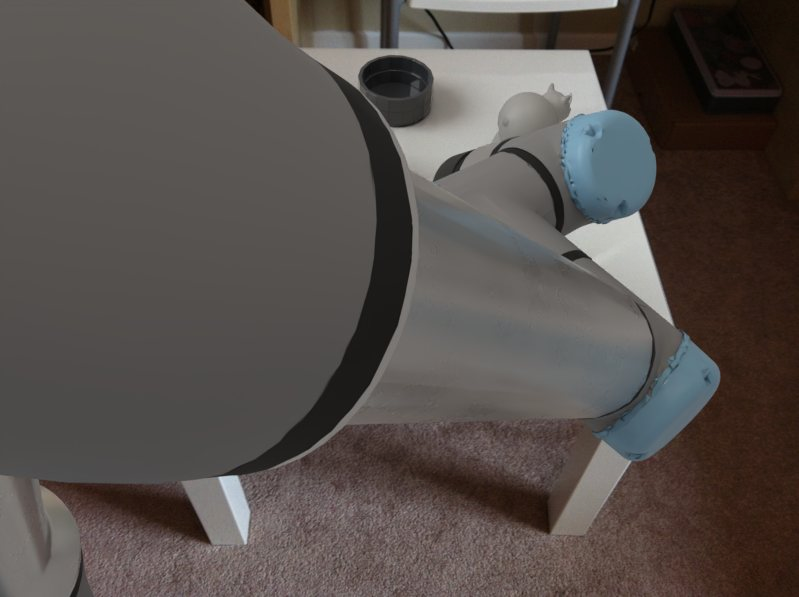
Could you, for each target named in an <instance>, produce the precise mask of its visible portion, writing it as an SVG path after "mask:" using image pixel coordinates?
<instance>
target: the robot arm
mask: <svg viewBox="0 0 799 597" xmlns="http://www.w3.org/2000/svg"><path fill="white" fill-rule="evenodd" d="M656 178H657V159H656V154H655V152H654V151H653V147H652V145H651V138H650V136H649V135H648V133H647V131H646V130H645V128H644V127H643V126H642V125H641V123H640V122H639V121H638V120H636V118H634V117H633V116H632V115H630V114H628V113H626V112H624V111H620V110H616V109H605V110H600V111H596V112H591V113H588V114H587V113H586V114H585V113H578V114H576V115H575V116H573V117H572V118H570V119H567V120H563V121H562V122H560V123H558V124H555V125H552V126H549V127H545V128H542V129H539V130H536V131H534V132H531V133H528V134H525V135H522V136H515V137H509V138H506V139H503V140H500V141H497V142H494V143H492V142H490V143H487V144H485V145H481V146H478V147H477V148H473V149H470V150H467V151H464V152H461V153H458V154H454V155H452V156H450V157H448V158H447V159H446V160H445V161H443V162H442V163H441V165H440V166H439V167H438V169H437V170H436V172H435V173H434V176H433V179H432V181H431V180H430V179H427V178H425V177H424V176H422V175H420V174H418V173H416V172H415V171H413V170H411V169H410V168H409V165H408V162H407V157H406V155H405V152H404V150H403V148H402V146H401V144H400V142H399V141H398V138H397V136H396V133H395V132H394V130H393V128H392V126H389V124H388V123H387V121H386V120H385V118H384V117H383V115H382V114H381V112H380V111H379V110H378V109H377V108H376V107H375V105H374V104H373V103H372V102H371V101H370V100H369V99H368V98H367V97H366V96H365V95H364V94H363V93H362V92H361V91H360V90H358V87H356V86H354V85H353V84H352V83H351V82H349V81H348V80H346V79H345V78H344V77H342V76H340V75H339V74H337V73H336V72H335V71H333V70H331V69H330V68H328V67H327V66H325V65H324V64H323V63H321V62H319V61H318V60H317V59H315V58H314V57H312V56H310V55H309V54H308V53H307V52H305V51H304V50H302V49H301V48H300V47H298V45H296V44H294V43H293V42H292V41H290V40H289V38H287V37H286V36H284V35H283V34H281V32H279V31H278V30H277V29H276V28H275V27H274V26H272V25H271V23H270V22H268V21H267V20H266V19H265V18H264V17H263V16H262V15H261V14H260V13H258V12H257V11H256V10H255V9H254V8H253V6H251V4H250V3H248V2H247V1H246V0H0V597H95V595H94V593H93V591H92V588H91V585H90V583H89V579H88V577H87V572H86V568H85V559H84V554H83V548H82V542H81V534H80V531H79V528H78V524H77V522H76V519H75V518H74V516H73V514H72V512H71V511H70V510H69V507H67V505H66V504H65V503H64V501H63V500H62V499H60V497H59V496H57V495H56V494H55V492H52V490H50V489H48V488H46V487H45V486H44V485H41V484H40V481H50V482H58V483H74V484H129V485H131V484H133V485H155V484H167V483H168V484H169V483H178V482H187V481H188V482H190V481H195V480H202V479H211V478H212V479H213V478H221V477H222V478H223V477H233V476H237V477H238V476H245V475H251V474H257V473H261V472H267V471H270V470H274V469H278V468H280V467H283V466H285V465H288V464H290V463H293V462H295V461H297V460H300V459H303V458H304V457H305V456H307V455H309V454H310V453H312V452H313V451H315V450H317V449H319V448H320V447H321V446H323V445H324V444H326V443H327V442H328V441H329V440H330V439H332V438H333V436H335V435H336V434H337V433H338V432H340V431H341V430H342V429H343V428H344V427H345V426H350V425H351V426H353V425H354V426H358V425H388V424H389V425H394V424H425V423H426V424H430V423H431V424H432V423H464V422H465V423H466V422H467V423H468V422H499V421H501V422H502V421H505V422H507V421H537V420H542V421H543V420H572V419H573V420H574V419H575V420H582V421H583V422H584V423H585V424H586V425H587V427H589V428H590V429H591V430H592V431H591V434H592V435H593V436H594V437H595V438H596V439H599V440H602V442H604V443H605V444H607V445H608V446H609V447H610V448H611V449H613V450H614V451H615V452H616V453H617V454H618V455H620V456H621V457H622V458H623V459H625V460H628V461H630V462H641V461H645V460H647V459H649V458H650V457H652V456H654V455H655V454H656V453H658V452H659V451H660V450H661V449H663V448H664V447H665V446H667V444H668V443H670V442H671V441H672V440H673V439H674V438H675V437H676V436H677V435H678V434H680V433H681V431H683V430H684V429H685V428H686V427H687V425H689V424H690V422H692V421H693V420H694V418H696V416H698V414H699V413H700V412H701V411H702V410H703V408H704V407H705V406H706V405H707V404H708V402H709V401H710V400H711V398H712V397H713V396H714V395H715V393H716V391H717V390H718V388H719V385H720V382H721V371H720V368H719V366H718V365H717V363H716V362H715V361H714V360H713V359H711V358H710V357H709V356H708V355H707V353H705V352H704V351H703V350H702V349H701V348H700V347H699V346H697V345H696V344H695V343H694V342H693V341H692V339H691V337H690V336H689V335H688V334H687V333H686V332H685V331H684V330H682V329H680V328H679V329H678V328H676V327H675V326H674V325H673V324H672V323H670V322H669V321H668V320H667V319H666V318H665V317H663V316H662V315H661V314H660V313H658V312H657V311H656V310H655V309H653V307H651V306H650V305H649V304H648V303H646V302H645V301H644V300H643V299H641V297H639V296H638V295H637V294H635V292H633V291H632V290H631V289H629V288H628V287H627V286H626V285H624V284H623V283H622V282H620V281H619V280H618V279H617V278H616V277H614V276H613V275H612V274H611V273H609V272H608V271H607V270H606V269H605V268H603V267H602V266H601V265H600V264H598V263H597V262H595V260H593V258H592V257H590V256H589V255H588V254H587V253H586V252H584V251H583V250H582V249H580V248H579V247H578V246H577V245H576V244H575V243H573V242H572V241H571V240H570V239H569V238H568V237H566V236H568V235H569V234H571V233H573V232H575V231H576V230H579V229H580V228H581V227H584V226H585V227H586V226H588V225H591V224H596V225H607V224H609V223H611V222H612V221H617V220H620V219H621V220H622V219H626V218H628V217H631V216H633V215H634V214H636V213H638V212H639V211H640V210H641V209H642V208H643V207H644V206H645V205H646V204H647V202H648V201H649V199H650V197H651V195H652V193H653V190H654V187H655V183H656Z"/></svg>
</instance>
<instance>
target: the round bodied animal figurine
mask: <svg viewBox="0 0 799 597" xmlns="http://www.w3.org/2000/svg"><path fill="white" fill-rule="evenodd" d="M572 93H573V92H570V93H569V94H567V95H565V94H563V93H562V92H561V91H557V90H556V89H555V84H554V82H551V83H550V84H549V86H548V88H547V91H546V92H544V93H543V94H539V93H537V92H535V91H534V92H533V91H522V92H519V93H516V94H514V95H512V96H511V97H509V98H508V99H507V100H506V101H505V102H504V104H502V107H501V108H500V110H499V112H498V116H497V129H498V131H497V132H496V134H495V135H494V137H493V138H492V141H491V143H494V142H497V141H500V140H503V139H506V138H509V137H515V136H522V135H525V134H528V133H531V132H534V131H536V130H539V129H542V128H545V127H549V126H552V125H555V124H558V123H561V122H564V121H566V119H568V118H569V117H570V114H571V111H572V108H571V104H572V101H573V94H572Z"/></svg>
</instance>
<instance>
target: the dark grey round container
mask: <svg viewBox="0 0 799 597" xmlns="http://www.w3.org/2000/svg"><path fill="white" fill-rule="evenodd" d="M434 82H435V78H434V75H433V71H432V69H431V68H429V67H428V66H427V65H426V64H425V63H424V62H423V61H421V60H419V59H417V58H415V57H411V56H407V55H402V54H388V55H381V56H377V57H374V58H372V59H371V60H369V61H367V62H366V63H365V64H364V65H362V67H360V69H359V72H358V74H357V89H358V90H360V91H361V92H362V93H363V94H364V95H365V96H366V97H367V98H368V99H369V100H370V101H371V102H372V103H373V104H374V105H375V107H376V108H377V109H378V110H379V111H380V112H381V114H382V115H383V117H384V118H385V120H386V121H387V123H388V124H389V126H390V127H395V128H396V127H397V128H398V127H405V126H411V125H413V124H416V123H418V122H420V121H421V120H423V119H424V118H425V117H426V116H427V114H428V113H429V112H430V111H431V107H432V102H433V93H434Z"/></svg>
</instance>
